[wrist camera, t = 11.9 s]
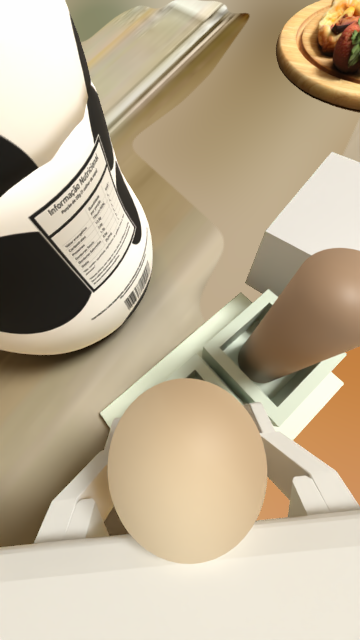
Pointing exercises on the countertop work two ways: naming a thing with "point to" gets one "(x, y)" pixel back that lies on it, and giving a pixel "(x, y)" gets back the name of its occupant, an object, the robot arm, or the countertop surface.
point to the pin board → (273, 344)
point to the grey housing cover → (310, 224)
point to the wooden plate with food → (324, 52)
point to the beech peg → (187, 471)
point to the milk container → (60, 193)
